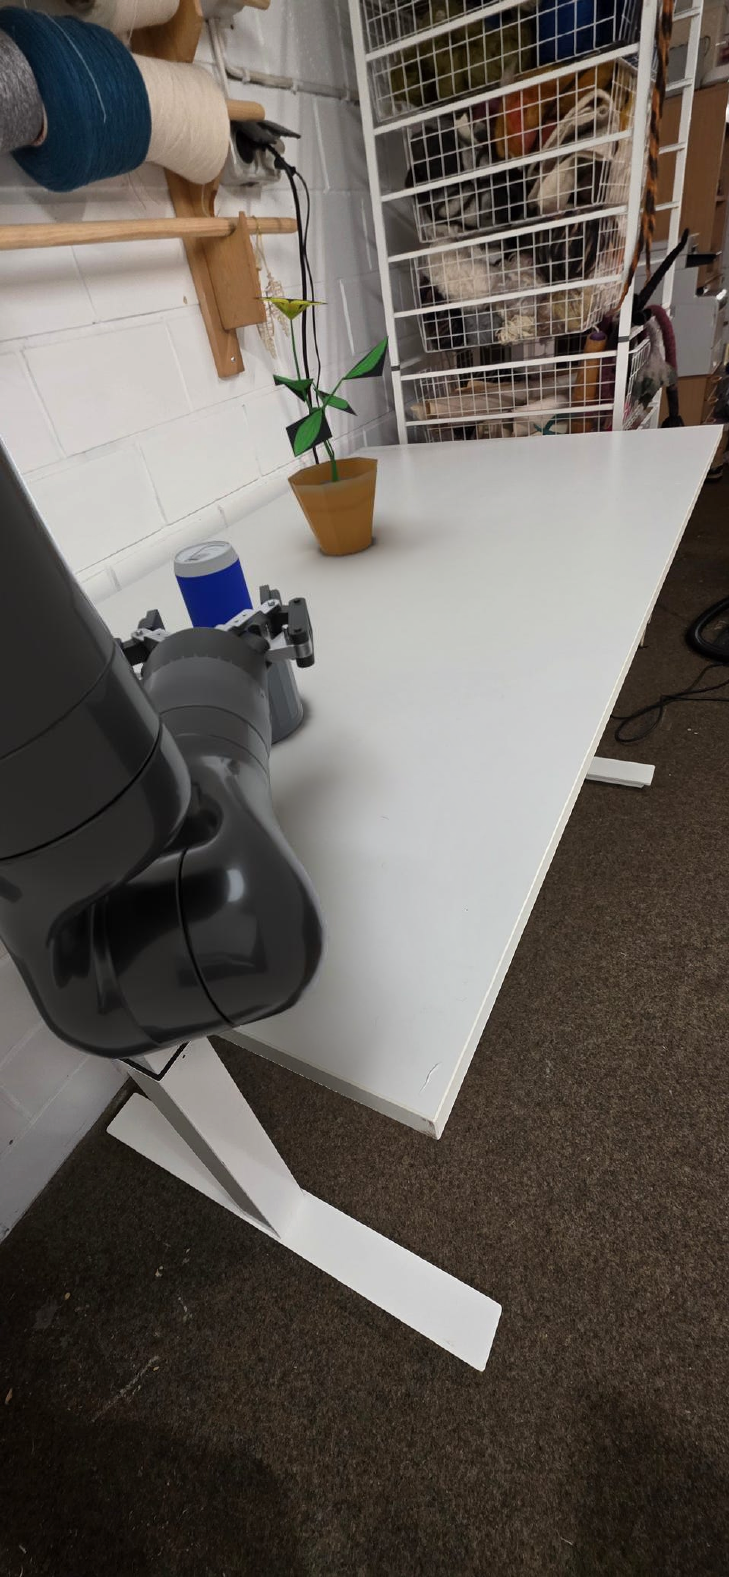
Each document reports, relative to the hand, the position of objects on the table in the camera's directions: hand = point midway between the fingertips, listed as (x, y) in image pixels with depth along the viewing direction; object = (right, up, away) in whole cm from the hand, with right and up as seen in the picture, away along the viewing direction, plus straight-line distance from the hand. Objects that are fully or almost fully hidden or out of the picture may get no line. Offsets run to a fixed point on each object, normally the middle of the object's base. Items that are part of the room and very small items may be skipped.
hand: (212, 609), depth 51 cm
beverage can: (+1, -7, +10) cm, 13 cm away
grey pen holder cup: (+2, -8, +11) cm, 13 cm away
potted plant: (+9, +21, +45) cm, 50 cm away
